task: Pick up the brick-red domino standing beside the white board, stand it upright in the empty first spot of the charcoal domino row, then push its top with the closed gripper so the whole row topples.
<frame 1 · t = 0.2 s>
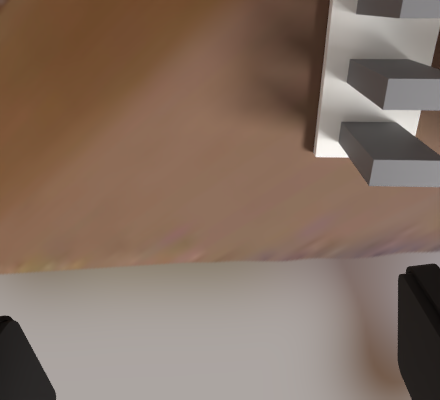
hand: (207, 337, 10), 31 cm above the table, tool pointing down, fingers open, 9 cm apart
domino 3: (389, 0, 32), point 1 cm above the table, touching board
domino 5: (366, 132, 37), point 1 cm above the table, touching board
domino 4: (377, 71, 35), point 1 cm above the table, touching board
board: (384, 0, 33), on the table
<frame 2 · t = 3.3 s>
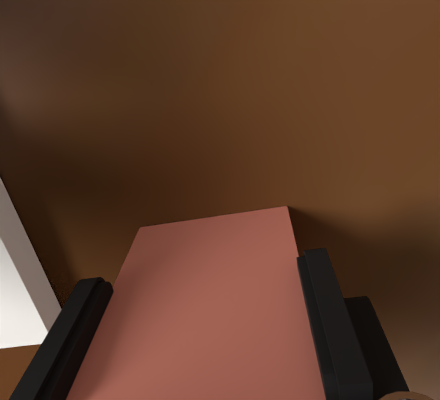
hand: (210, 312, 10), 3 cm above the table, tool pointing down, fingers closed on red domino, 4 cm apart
red domino: (217, 242, 14), on the table, touching gripper
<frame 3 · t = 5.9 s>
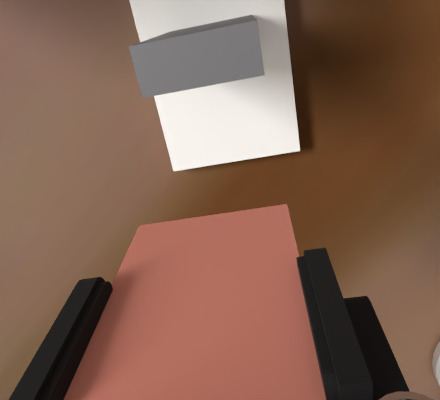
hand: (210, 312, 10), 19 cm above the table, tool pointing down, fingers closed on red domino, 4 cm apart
red domino: (217, 240, 14), point 16 cm above the table, touching gripper
domino 2: (213, 40, 24), point 1 cm above the table, touching board
when the fingers open (6 cm above the table, at t = 8.7 s): red domino stays where it is, resting on board.
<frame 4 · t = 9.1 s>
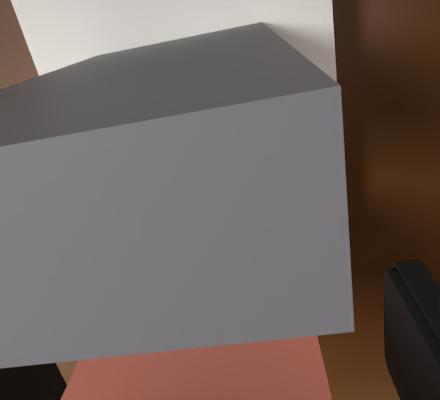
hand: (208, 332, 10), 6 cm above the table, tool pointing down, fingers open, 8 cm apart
red domino: (218, 227, 14), point 1 cm above the table, touching board
domino 2: (184, 73, 12), point 1 cm above the table, touching board
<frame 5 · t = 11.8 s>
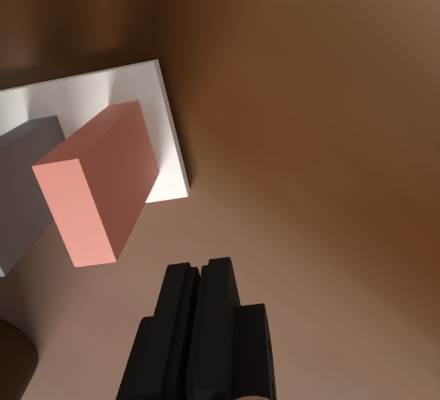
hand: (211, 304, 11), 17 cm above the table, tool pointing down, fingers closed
red domino: (134, 140, 26), point 1 cm above the table, touching board
domino 2: (56, 154, 26), point 1 cm above the table, touching board
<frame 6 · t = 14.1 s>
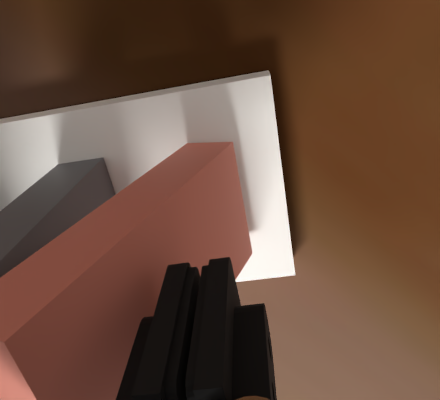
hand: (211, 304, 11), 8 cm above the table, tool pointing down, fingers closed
red domino: (221, 200, 16), point 2 cm above the table, tilted 23°, touching board, domino 2
domino 2: (99, 214, 17), point 1 cm above the table, touching board, red domino
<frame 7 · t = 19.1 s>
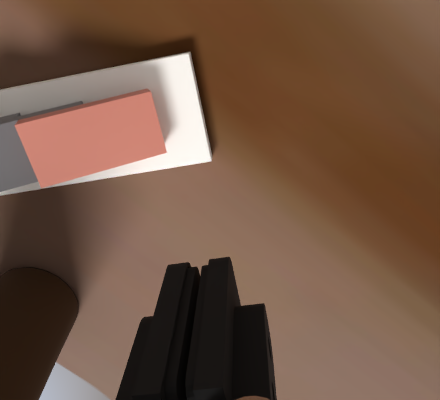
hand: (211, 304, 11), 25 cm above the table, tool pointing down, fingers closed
red domino: (157, 120, 32), point 2 cm above the table, tilted 69°, touching board, domino 2
domino 2: (92, 132, 33), point 2 cm above the table, tilted 69°, touching board, domino 3, red domino
olive oil: (37, 299, 44), on the table
board: (53, 133, 35), on the table
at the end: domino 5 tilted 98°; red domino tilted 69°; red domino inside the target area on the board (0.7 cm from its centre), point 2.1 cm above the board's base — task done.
